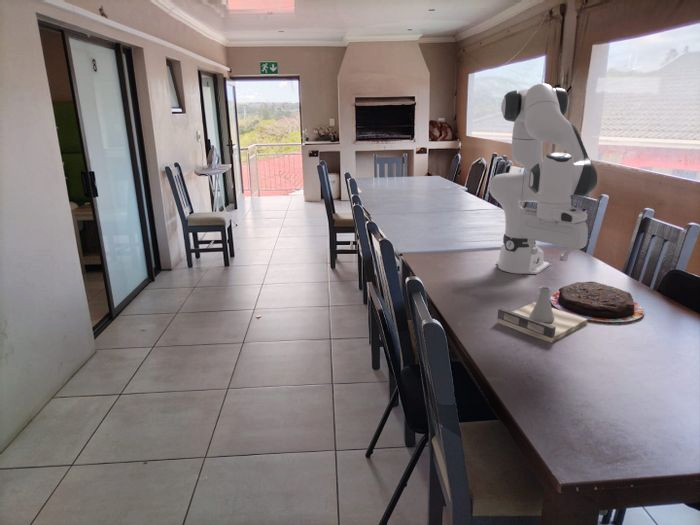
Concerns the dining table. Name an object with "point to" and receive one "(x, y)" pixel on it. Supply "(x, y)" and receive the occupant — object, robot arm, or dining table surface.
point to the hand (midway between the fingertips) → (548, 257)
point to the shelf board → (540, 323)
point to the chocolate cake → (597, 303)
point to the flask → (543, 307)
